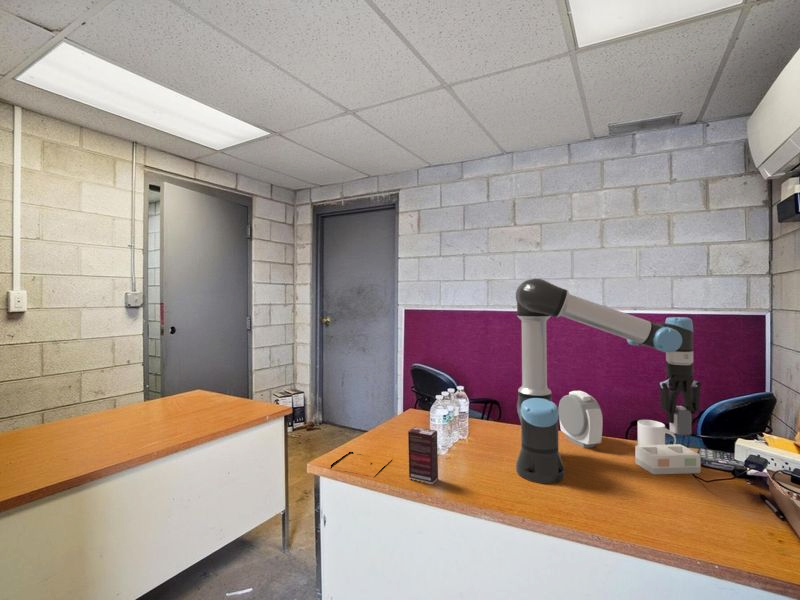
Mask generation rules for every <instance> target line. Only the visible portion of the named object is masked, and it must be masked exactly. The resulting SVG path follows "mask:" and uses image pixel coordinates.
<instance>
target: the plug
mask: <svg viewBox="0 0 800 600" xmlns="http://www.w3.org/2000/svg"><path fill="white" fill-rule="evenodd" d="M675 414H677V430H678V434H677V435H678V436H690V435H692V422H691V411H690V410H687V409H686V408H685V407H684V406H682V405H676V410H675Z"/></svg>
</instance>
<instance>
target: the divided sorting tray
mask: <svg viewBox="0 0 800 600" xmlns="http://www.w3.org/2000/svg"><path fill="white" fill-rule="evenodd" d="M634 448H635V452H634V453H635V455H634V456H635V457H634V458H635V461H634V462H635V464H636V465H638V466H639V467H641V468H642V469H644V470H646V471H648V472H649V473H650V474H651V475H675V474H676V475H677V474H678V475H680V474H683V475H684V474H701V471H702V470H701V466H702V465H701V462H702V461H701V460H702V458H701V454H700V453H698V452H695V451H694V450H692V449H691V448H689V447H686V446H684V445H682V444H677V443H676V444H674V443H673V444H665V445H638V444H637V445H635V447H634Z"/></svg>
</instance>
